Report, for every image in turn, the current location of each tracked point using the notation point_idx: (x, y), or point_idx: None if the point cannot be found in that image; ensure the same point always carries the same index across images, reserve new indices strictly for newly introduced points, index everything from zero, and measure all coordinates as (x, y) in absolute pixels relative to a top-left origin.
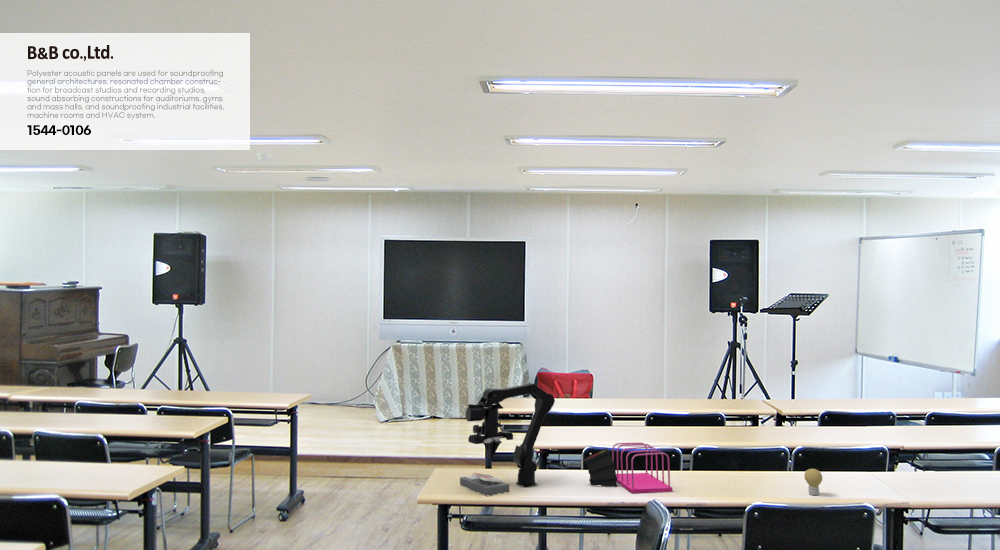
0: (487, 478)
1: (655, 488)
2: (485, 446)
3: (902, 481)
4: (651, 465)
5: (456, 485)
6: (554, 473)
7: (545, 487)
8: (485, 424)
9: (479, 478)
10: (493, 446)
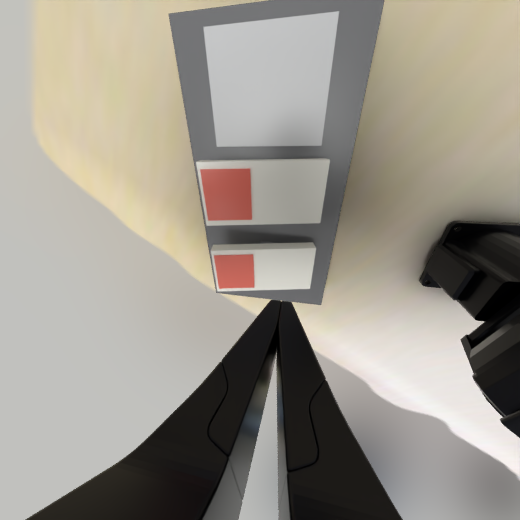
0: (227, 290)
1: None
2: (159, 436)
3: None
4: None
5: (171, 38)
6: None
7: (472, 322)
8: None
9: (268, 146)
10: (281, 502)
